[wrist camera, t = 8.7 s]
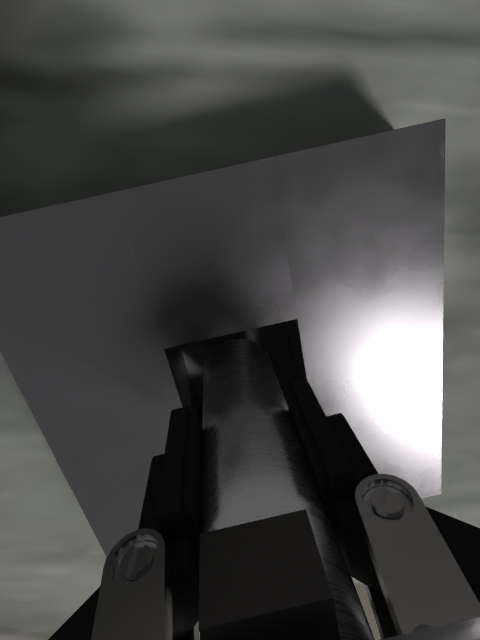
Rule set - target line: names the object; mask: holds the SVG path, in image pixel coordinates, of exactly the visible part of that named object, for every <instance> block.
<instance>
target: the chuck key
mask: <svg viewBox="0 0 480 640" xmlns="http://www.w3.org/2000/svg"><path fill="white" fill-rule="evenodd" d="M202 431H203V438H202V531H201V534H200V564H199V629H198V630H199V632H200V640H374V637H373V634H372V631H371V629H370V626H369V623H368V621H367V618H366V615H365V612H364V610H363V607H362V605H361V602H360V599H359V596H358V594H357V591H356V588H355V586H354V583H353V580H352V578H351V575H350V572H349V570H348V567H347V564H346V561H345V559H344V556H343V553H342V551H341V548H340V545H339V543H338V540H337V537H336V535H335V532H334V529H333V527H332V524H331V521H330V519H329V516H328V514H327V512H326V510H325V508H324V505H323V502H322V499H321V497H320V494H319V491H318V489H317V486H316V483H315V480H314V478H313V475H312V472H311V470H310V467H309V464H308V462H307V459H306V456H305V453H304V451H303V448H302V445H301V443H300V440H299V437H298V434H297V432H296V429H295V426H294V424H293V421H292V418H291V415H290V413H289V408H288V406H287V403H286V400H285V398H284V395H283V392H282V390H281V387H280V384H279V381H278V379H277V376H276V373H275V371H274V368H273V365H272V363H271V360H270V358H269V355H268V354H267V352H266V351H265V350H264V348H262V347H261V346H260V345H259V344H257V343H255V342H253V341H250V340H246V339H231V340H228V341H225V342H222V343H220V344H219V345H217V346H216V347H215V348H213V349H212V350H211V351H210V353H209V354H208V356H207V357H206V360H205V362H204V366H203V426H202Z"/></svg>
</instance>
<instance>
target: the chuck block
mask: <svg viewBox="0 0 480 640" xmlns="http://www.w3.org/2000/svg"><path fill="white" fill-rule="evenodd" d="M444 194H445V119H441V120H436V121H432V122H427V123H423V124H418V125H414V126H409V127H405V128H400V129H395V130H391V131H386V132H382V133H377V134H373V135H368V136H364V137H359V138H355V139H350V140H346V141H341V142H337V143H332V144H328V145H323V146H319V147H314V148H310V149H305V150H301V151H296V152H292V153H287V154H283V155H278V156H274V157H269V158H265V159H260V160H256V161H251V162H247V163H242V164H238V165H233V166H229V167H224V168H220V169H215V170H210V171H206V172H201V173H197V174H192V175H188V176H183V177H179V178H174V179H170V180H165V181H161V182H156V183H152V184H147V185H143V186H138V187H134V188H129V189H125V190H120V191H116V192H111V193H107V194H102V195H98V196H93V197H89V198H84V199H80V200H75V201H71V202H66V203H62V204H57V205H53V206H48V207H44V208H39V209H35V210H30V211H26V212H21V213H16V214H12V215H7V216H3V217H0V351H1V353H2V355H3V357H4V359H5V361H6V363H7V365H8V367H9V369H10V371H11V373H12V375H13V377H14V378H15V380H16V382H17V384H18V386H19V388H20V390H21V392H22V394H23V396H24V398H25V400H26V402H27V404H28V406H29V407H30V409H31V411H32V413H33V415H34V417H35V419H36V421H37V423H38V425H39V427H40V429H41V431H42V433H43V435H44V437H45V438H46V440H47V442H48V444H49V446H50V448H51V450H52V452H53V454H54V456H55V458H56V460H57V462H58V464H59V466H60V468H61V469H62V471H63V473H64V475H65V477H66V479H67V481H68V483H69V485H70V487H71V489H72V491H73V493H74V495H75V497H76V499H77V500H78V502H79V504H80V506H81V508H82V510H83V512H84V514H85V516H86V518H87V520H88V522H89V524H90V526H91V528H92V529H93V531H94V533H95V535H96V537H97V539H98V541H99V543H100V545H101V547H102V549H103V551H104V553H105V555H106V557H107V556H108V555H109V553H110V551H111V550H112V548H113V547H114V546H115V545H116V544H117V543H118V541H119V540H121V539H122V538H123V537H125V536H126V535H127V534H129V533H131V532H133V531H136V530H138V527H139V522H140V517H141V512H142V507H143V502H144V496H145V491H146V486H147V481H148V476H149V471H150V466H151V461H152V458H153V457H154V456H156V455H161V454H165V447H166V441H167V434H168V427H169V421H170V414H171V410H174V409H178V408H182V407H187V406H188V407H189V408H190V410H193V409H195V410H196V412H197V415H198V418H199V421H200V425H201V428H202V426H203V410H201V411H199V409H198V406H197V402H196V399H195V396H194V392H193V389H192V386H191V382H190V379H189V376H188V372H187V369H186V366H185V362H184V359H183V356H182V352H181V349H180V346H179V345H183V344H188V343H192V342H197V341H201V340H205V339H210V338H214V337H219V336H223V335H228V334H232V333H237V332H241V331H245V330H250V329H254V328H259V327H263V326H268V325H272V324H277V323H281V322H285V321H286V325H287V331H288V337H289V343H290V349H291V355H292V361H293V367H294V373H295V378H296V381H300V380H304V379H307V381H308V382H309V384H310V386H311V388H312V390H313V392H314V394H315V396H316V398H317V400H318V401H319V403H320V405H321V407H322V409H323V411H324V413H325V415H326V416H330V415H334V414H338V413H341V414H343V416H344V417H345V419H346V420H347V422H348V424H349V425H350V427H351V429H352V430H353V432H354V434H355V435H356V437H357V439H358V440H359V442H360V444H361V445H362V447H363V449H364V450H365V452H366V454H367V455H368V457H369V459H370V460H371V462H372V464H373V465H374V467H375V469H376V470H377V472H378V474H388V475H393V476H397V477H399V478H401V479H403V480H405V481H406V482H408V483H409V484H410V485H412V486H413V488H414V489H415V490H416V491H417V493H418V494H419V496H420V498H424V497H428V496H433V495H437V494H441V446H442V362H443V278H444ZM283 395H284V398H285V400H286V403H287V398H286V392H283ZM287 406H288V403H287Z"/></svg>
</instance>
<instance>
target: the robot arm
mask: <svg viewBox="0 0 480 640" xmlns="http://www.w3.org/2000/svg"><path fill="white" fill-rule="evenodd" d="M285 392H286V398H287V403H288V408H289V413H290V415H291V418H292V421H293V424H294V426H295V429H296V432H297V434H298V437H299V440H300V443H301V445H302V448H303V451H304V453H305V456H306V459H307V462H308V464H309V467H310V470H311V472H312V475H313V478H314V480H315V483H316V486H317V489H318V491H319V494H320V497H321V499H322V502H323V505H324V508H325V510H326V512H327V514H328V516H329V519H330V521H331V524H332V527H333V529H334V532H335V535H336V537H337V540H338V543H339V545H340V548H341V551H342V553H343V556H344V559H345V561H346V564H347V567H348V570H349V572H350V575H351V576H352V577H353V578H355V579H357V580H358V581H360V582H362V583H364V584H365V586H366V591H367V594H368V597H369V601H370V604H371V607H372V610H373V614H374V617H375V620H376V624H377V626H378V630H379V633H380V637H381V640H480V528H477V527H475V526H472V525H470V524H467V523H465V522H462V521H460V520H457V519H455V518H453V517H450V516H448V515H445V514H443V513H440V512H438V511H435V510H433V509H430V508H428V507H425V505H424V503H423V501H422V500H421V498H420V496H419V494H418V493H417V491H416V490H415V489H414V488H413V486H412V485H410V484H409V483H408V482H406V481H405V480H403V479H401V478H399V477H397V476H393V475H388V474H378V472H377V470H376V469H375V467H374V465H373V464H372V462H371V460H370V459H369V457H368V455H367V454H366V452H365V450H364V449H363V447H362V445H361V444H360V442H359V440H358V439H357V437H356V435H355V434H354V432H353V430H352V429H351V427H350V425H349V424H348V422H347V420H346V419H345V417H344V416H343V414H341V413H338V414H334V415H330V416H326V415H325V413H324V411H323V409H322V407H321V405H320V403H319V401H318V400H317V398H316V396H315V394H314V392H313V390H312V388H311V386H310V384H309V382H308V381H307V379H304V380H300V381H296V382H291V383H290V387H289V388H285ZM202 438H203V431H202V428H201V425H200V421H199V418H198V415H197V412H196V410H195V409H193V410H190V408H189V407H188V406H187V407H182V408H178V409H174V410H171V414H170V421H169V427H168V434H167V441H166V447H165V454H161V455H156V456H154V457H153V458H152V461H151V466H150V471H149V476H148V481H147V486H146V491H145V496H144V502H143V507H142V512H141V517H140V522H139V527H138V530H136V531H133V532H131V533H129V534H127V535H126V536H125V537H123V538H122V539H121V540H119V541H118V543H117V544H116V545H115V546H114V547H113V548H112V550H111V551H110V553H109V555H108V556H107V558H106V562H105V565H104V568H103V574H102V580H101V585H100V587H99V588H98V589H97V590H96V591H95V592H94V593H93V594H92V595H91V596H90V597H89V598H88V599H87V600H86V601H85V603H84V604H83V605H82V606H81V607H80V608H79V609H78V610H77V611H76V612H75V613H74V614H73V615H72V616H71V617H70V618H69V619H68V620H67V621H66V622H65V623H64V624H63V625H62V626H61V627H60V628H59V629H58V630H57V631H56V632H55V633H54V634H53V635H52V636H51V637H50V638H49V639H48V640H199V630H198V629H199V627H198V623H197V622H198V621H199V564H200V534H201V531H202Z"/></svg>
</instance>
